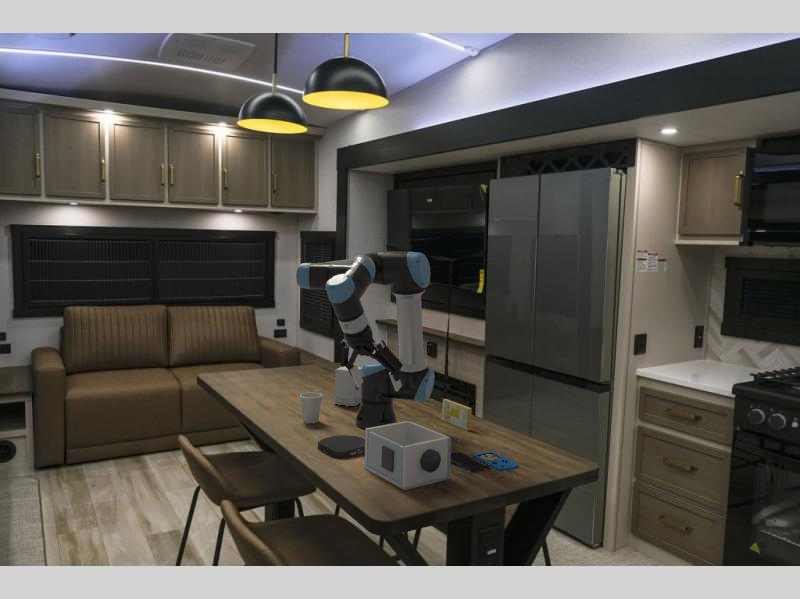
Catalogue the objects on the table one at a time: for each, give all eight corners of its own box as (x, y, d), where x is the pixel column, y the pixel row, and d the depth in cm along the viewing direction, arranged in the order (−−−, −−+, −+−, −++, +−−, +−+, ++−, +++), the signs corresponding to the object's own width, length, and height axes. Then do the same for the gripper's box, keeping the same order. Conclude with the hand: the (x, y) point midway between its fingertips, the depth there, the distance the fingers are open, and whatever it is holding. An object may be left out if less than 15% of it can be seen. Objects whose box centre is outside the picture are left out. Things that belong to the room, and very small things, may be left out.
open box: (408, 492, 169) (409, 448, 168) (364, 468, 187) (365, 428, 186) (453, 480, 179) (455, 439, 178) (407, 458, 196) (408, 420, 195)
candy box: (471, 430, 228) (472, 408, 227) (466, 431, 227) (467, 408, 226) (445, 419, 242) (446, 398, 241) (441, 420, 241) (441, 398, 240)
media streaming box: (350, 440, 214) (350, 431, 214) (376, 452, 203) (376, 443, 202) (313, 448, 205) (313, 439, 205) (337, 461, 193) (338, 451, 193)
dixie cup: (294, 422, 232) (295, 395, 231) (307, 417, 240) (308, 391, 239) (314, 425, 228) (314, 398, 228) (326, 420, 236) (326, 393, 235)
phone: (458, 451, 202) (491, 465, 190) (458, 455, 202) (491, 469, 190) (439, 456, 197) (471, 470, 185) (439, 459, 197) (471, 474, 185)
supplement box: (354, 407, 255) (355, 371, 254) (334, 405, 258) (334, 369, 257) (362, 402, 264) (363, 367, 262) (343, 400, 267) (343, 365, 265)
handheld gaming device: (499, 468, 188) (471, 453, 201) (499, 472, 188) (470, 456, 201) (521, 464, 192) (492, 449, 205) (521, 468, 192) (492, 453, 205)
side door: (399, 483, 172) (400, 447, 171) (366, 465, 185) (366, 432, 184) (403, 482, 173) (404, 446, 172) (370, 464, 186) (371, 431, 185)
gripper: (313, 333, 178) (338, 390, 188) (387, 337, 165) (409, 399, 175) (327, 317, 183) (351, 374, 194) (400, 320, 170) (421, 381, 180)
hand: (379, 386), depth 184 cm, fingers open, 13 cm apart
